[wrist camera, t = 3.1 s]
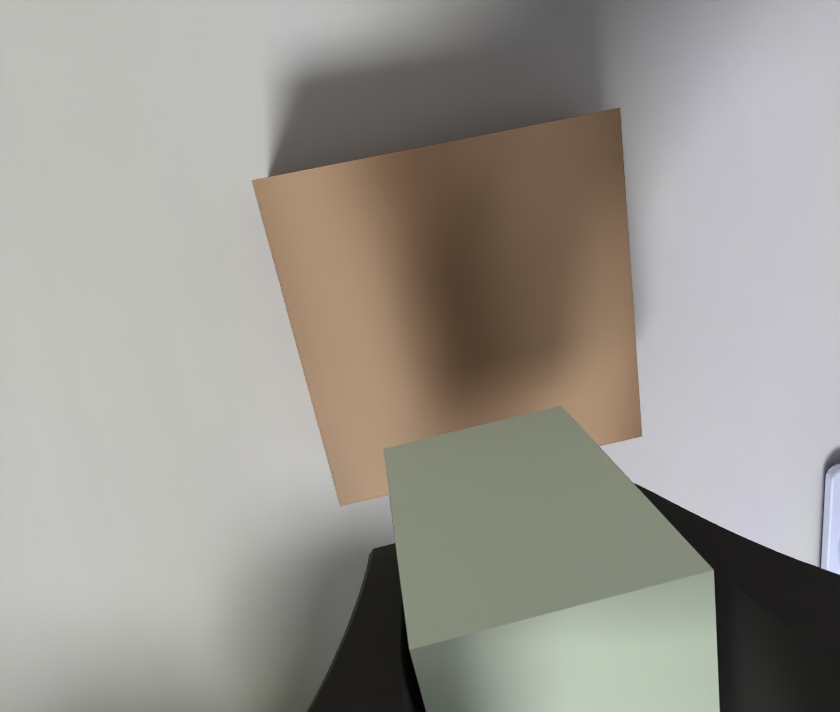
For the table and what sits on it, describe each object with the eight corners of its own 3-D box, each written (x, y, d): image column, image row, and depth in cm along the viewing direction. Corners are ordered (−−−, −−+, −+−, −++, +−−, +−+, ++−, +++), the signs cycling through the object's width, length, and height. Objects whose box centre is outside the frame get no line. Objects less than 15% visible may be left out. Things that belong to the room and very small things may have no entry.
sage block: (561, 405, 14) (713, 570, 8) (581, 553, 15) (722, 783, 9) (382, 448, 13) (409, 649, 8) (420, 595, 15) (465, 856, 9)
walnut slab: (576, 118, 18) (619, 108, 15) (602, 401, 21) (641, 436, 18) (267, 180, 18) (251, 180, 15) (341, 460, 21) (339, 506, 18)
